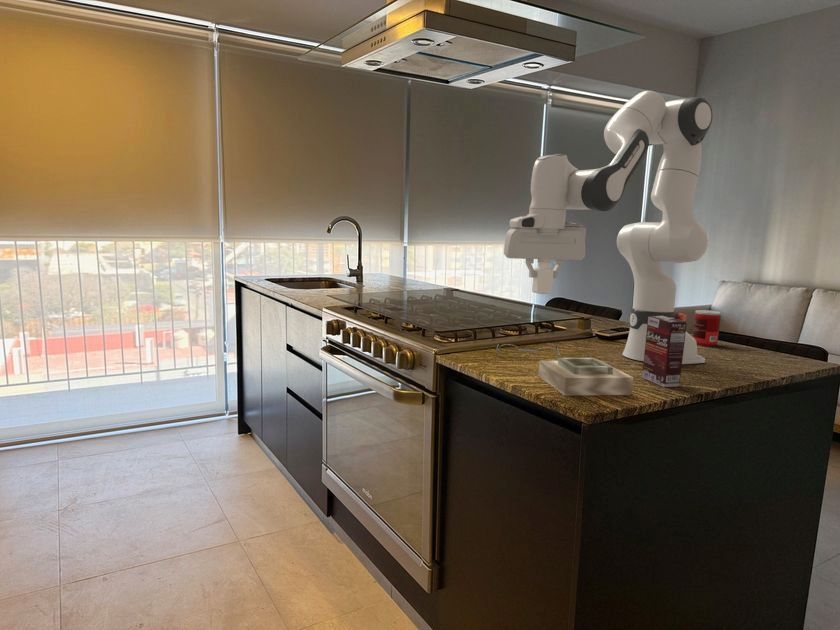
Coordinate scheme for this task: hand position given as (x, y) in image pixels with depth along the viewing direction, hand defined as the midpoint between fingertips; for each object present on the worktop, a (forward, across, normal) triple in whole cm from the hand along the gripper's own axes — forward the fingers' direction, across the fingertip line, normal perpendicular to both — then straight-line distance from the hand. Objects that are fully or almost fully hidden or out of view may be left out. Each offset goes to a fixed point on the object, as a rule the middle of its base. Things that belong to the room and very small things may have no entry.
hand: (542, 277), depth 145 cm
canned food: (+24, -71, -35) cm, 83 cm away
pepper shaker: (+4, 0, 0) cm, 4 cm away
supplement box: (+24, -28, +11) cm, 38 cm away
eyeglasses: (+25, -5, -23) cm, 34 cm away
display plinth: (+24, -7, +13) cm, 28 cm away
